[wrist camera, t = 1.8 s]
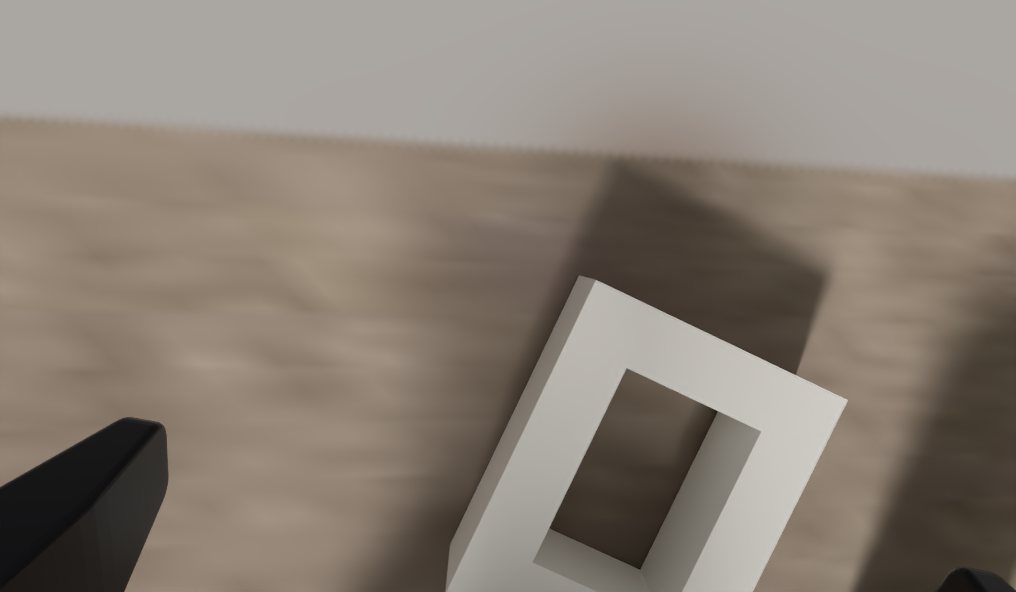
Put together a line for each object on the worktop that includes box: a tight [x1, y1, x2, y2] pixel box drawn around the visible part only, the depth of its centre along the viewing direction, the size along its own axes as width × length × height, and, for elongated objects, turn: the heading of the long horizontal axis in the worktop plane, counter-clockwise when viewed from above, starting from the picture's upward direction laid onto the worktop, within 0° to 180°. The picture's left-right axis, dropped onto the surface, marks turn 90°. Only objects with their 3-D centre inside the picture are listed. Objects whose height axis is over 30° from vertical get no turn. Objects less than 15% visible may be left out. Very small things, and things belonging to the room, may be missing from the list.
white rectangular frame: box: [445, 275, 848, 592], centre depth 26 cm, size 11×9×4 cm
